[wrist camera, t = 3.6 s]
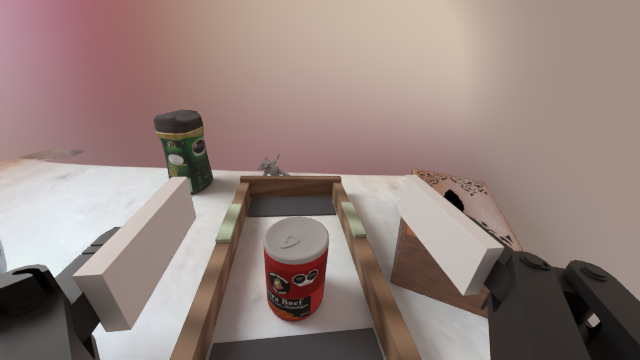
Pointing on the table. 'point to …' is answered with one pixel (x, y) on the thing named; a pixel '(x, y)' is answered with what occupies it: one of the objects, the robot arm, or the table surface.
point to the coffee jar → (185, 147)
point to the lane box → (212, 286)
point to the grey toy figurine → (271, 168)
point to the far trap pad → (290, 206)
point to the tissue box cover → (419, 265)
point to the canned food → (295, 266)
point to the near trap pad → (304, 347)
